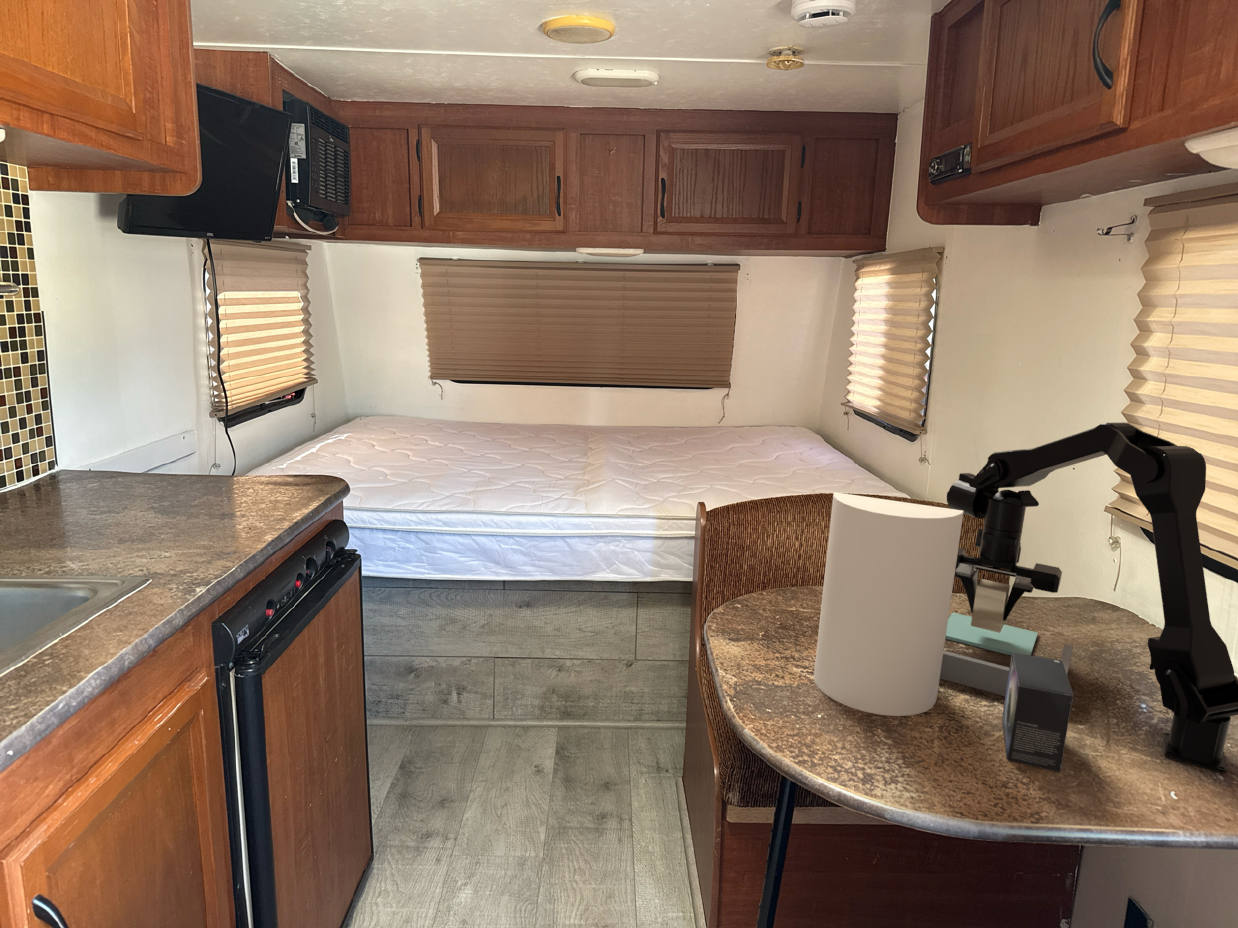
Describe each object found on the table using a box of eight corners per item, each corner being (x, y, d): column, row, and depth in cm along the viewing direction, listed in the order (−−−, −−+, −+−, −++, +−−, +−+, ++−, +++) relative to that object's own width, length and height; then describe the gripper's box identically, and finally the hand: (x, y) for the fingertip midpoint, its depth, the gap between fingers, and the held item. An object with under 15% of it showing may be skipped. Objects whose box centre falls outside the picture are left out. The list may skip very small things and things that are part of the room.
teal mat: (1029, 659, 129) (1029, 656, 129) (938, 636, 137) (938, 633, 137) (1037, 635, 139) (1037, 632, 139) (952, 615, 147) (952, 612, 146)
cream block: (999, 632, 132) (1006, 592, 130) (970, 625, 134) (976, 586, 133) (1003, 624, 136) (1010, 584, 134) (975, 617, 138) (981, 578, 137)
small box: (998, 720, 110) (1009, 649, 108) (1051, 732, 107) (1064, 659, 105) (1003, 760, 100) (1016, 683, 98) (1062, 773, 98) (1077, 694, 96)
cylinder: (931, 728, 107) (961, 525, 101) (802, 696, 114) (822, 504, 108) (940, 675, 122) (965, 497, 116) (825, 650, 129) (844, 480, 123)
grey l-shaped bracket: (1059, 711, 113) (1064, 685, 112) (879, 661, 126) (882, 637, 125) (1068, 669, 127) (1072, 645, 126) (904, 627, 140) (907, 606, 139)
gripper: (1071, 527, 133) (1055, 615, 137) (952, 506, 143) (940, 589, 146) (1065, 543, 124) (1049, 637, 127) (939, 519, 134) (926, 608, 137)
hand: (988, 616), depth 135 cm, fingers closed on cream block, 4 cm apart
